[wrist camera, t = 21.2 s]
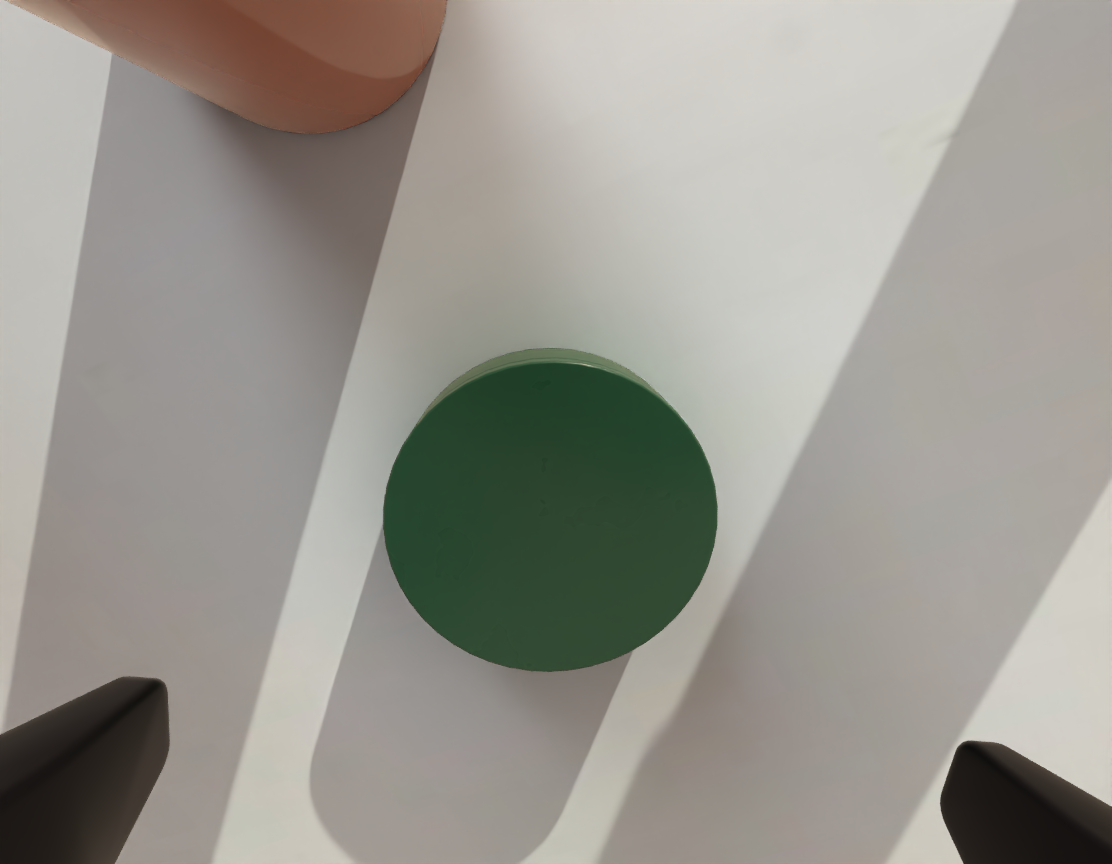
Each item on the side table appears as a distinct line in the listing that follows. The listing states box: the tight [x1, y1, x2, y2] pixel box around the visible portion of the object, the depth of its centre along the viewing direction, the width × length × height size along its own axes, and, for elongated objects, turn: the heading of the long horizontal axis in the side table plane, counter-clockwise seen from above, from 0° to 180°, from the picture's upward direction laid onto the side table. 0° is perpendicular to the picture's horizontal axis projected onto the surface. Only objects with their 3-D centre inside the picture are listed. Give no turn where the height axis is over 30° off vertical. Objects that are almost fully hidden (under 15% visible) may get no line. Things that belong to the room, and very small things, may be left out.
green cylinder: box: [383, 348, 718, 672], centre depth 14 cm, size 7×7×2 cm
